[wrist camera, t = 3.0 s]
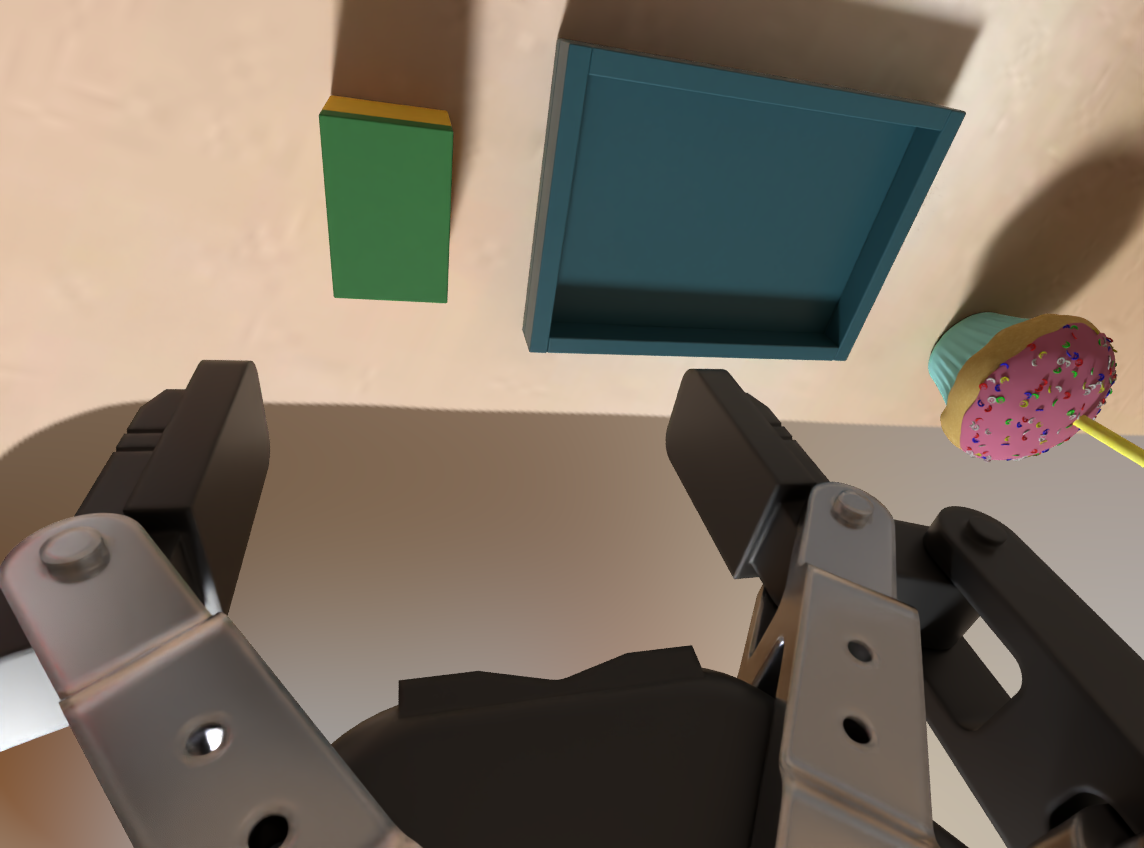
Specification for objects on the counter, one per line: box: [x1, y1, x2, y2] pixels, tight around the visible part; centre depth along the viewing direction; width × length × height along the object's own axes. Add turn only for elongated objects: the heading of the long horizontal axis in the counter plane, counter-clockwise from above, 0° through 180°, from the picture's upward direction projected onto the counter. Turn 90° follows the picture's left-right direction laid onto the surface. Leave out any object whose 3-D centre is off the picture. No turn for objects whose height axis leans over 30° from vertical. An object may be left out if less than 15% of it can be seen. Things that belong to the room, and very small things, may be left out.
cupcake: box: [928, 312, 1144, 467], centre depth 30 cm, size 9×8×12 cm
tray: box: [522, 38, 966, 361], centre depth 26 cm, size 17×12×2 cm
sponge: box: [319, 95, 453, 303], centre depth 21 cm, size 6×4×4 cm, turn 171°
